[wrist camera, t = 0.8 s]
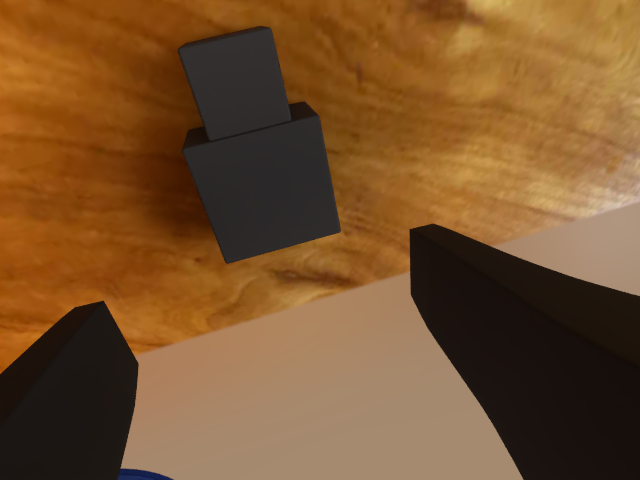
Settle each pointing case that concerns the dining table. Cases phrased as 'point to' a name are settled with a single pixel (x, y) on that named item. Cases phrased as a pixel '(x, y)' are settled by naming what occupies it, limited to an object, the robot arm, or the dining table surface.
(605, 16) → the dining table surface
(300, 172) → the pad
